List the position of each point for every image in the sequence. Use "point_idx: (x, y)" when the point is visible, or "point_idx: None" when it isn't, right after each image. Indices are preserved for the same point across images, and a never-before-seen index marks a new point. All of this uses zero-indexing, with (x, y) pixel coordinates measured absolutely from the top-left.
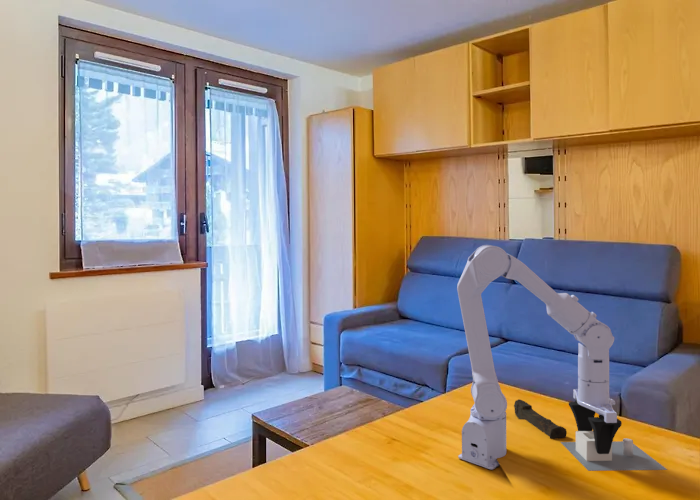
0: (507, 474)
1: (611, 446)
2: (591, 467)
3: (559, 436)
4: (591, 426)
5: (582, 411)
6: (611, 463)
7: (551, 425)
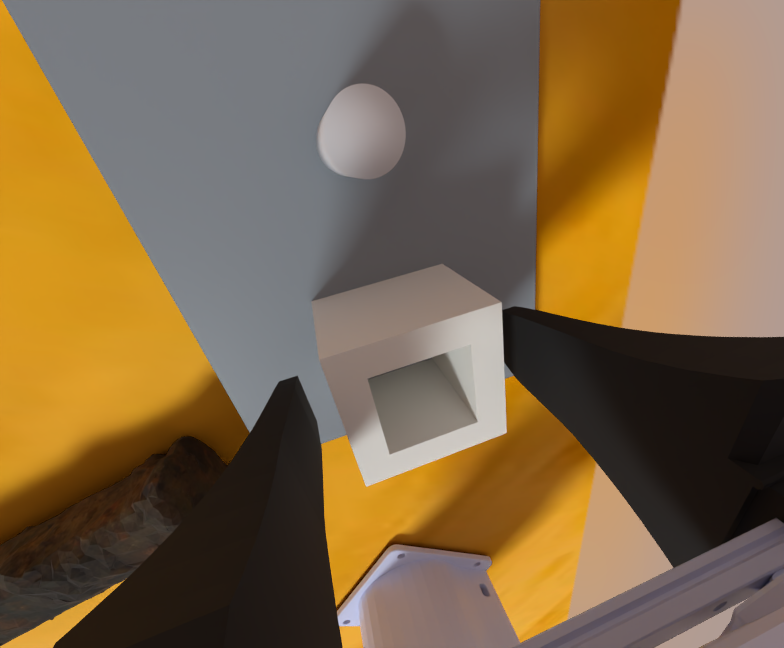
0: (504, 527)
1: (481, 291)
2: None
3: (209, 479)
4: (289, 423)
5: (316, 614)
6: (473, 272)
7: (146, 554)
